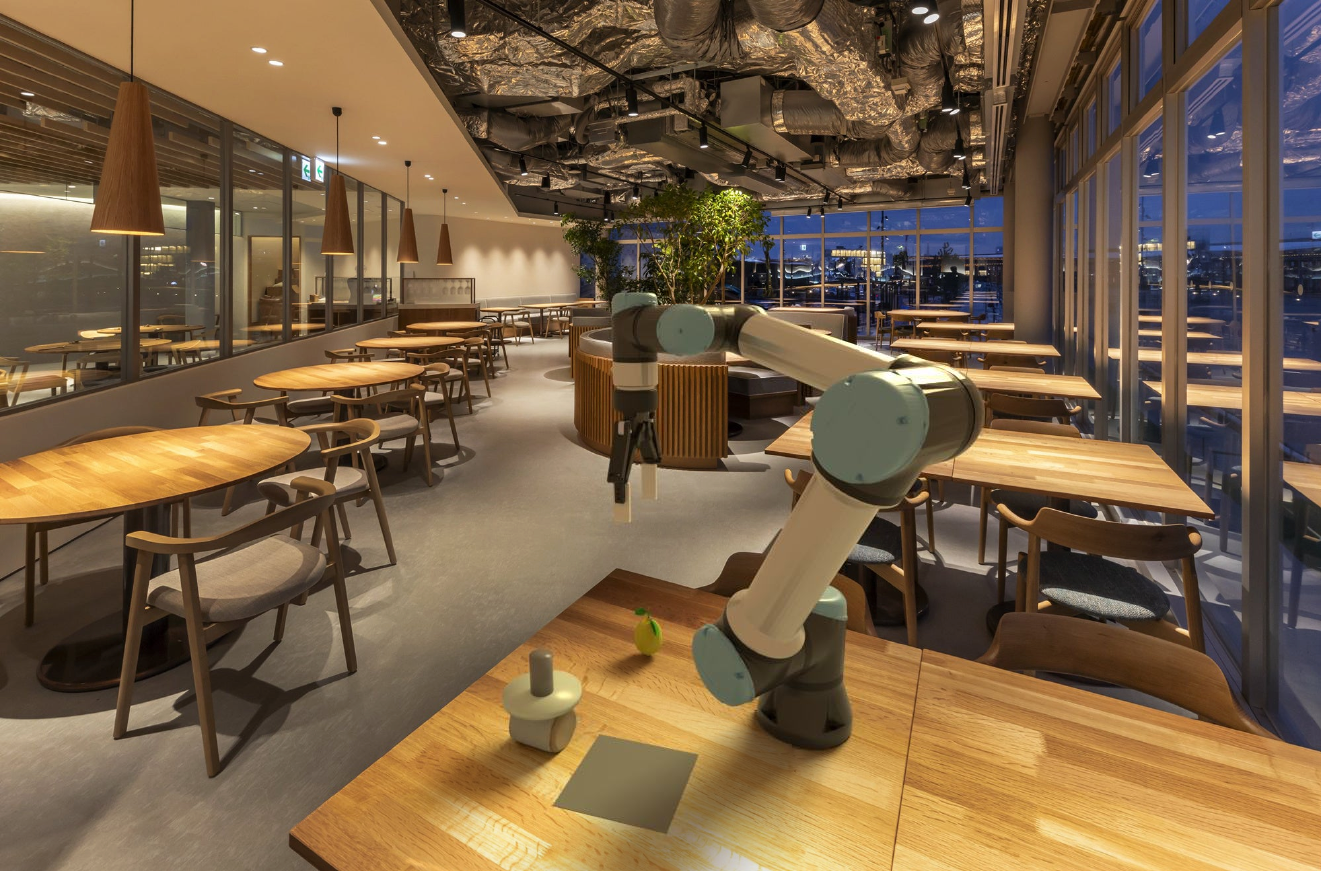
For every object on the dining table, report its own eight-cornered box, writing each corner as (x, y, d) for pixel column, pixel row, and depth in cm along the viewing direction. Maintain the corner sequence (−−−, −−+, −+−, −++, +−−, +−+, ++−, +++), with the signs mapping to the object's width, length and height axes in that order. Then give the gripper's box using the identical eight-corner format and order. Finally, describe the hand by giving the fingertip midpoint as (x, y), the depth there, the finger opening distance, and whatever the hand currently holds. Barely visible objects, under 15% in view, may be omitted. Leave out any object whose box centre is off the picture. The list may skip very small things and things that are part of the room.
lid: (593, 682, 106) (592, 641, 105) (561, 726, 95) (559, 681, 94) (526, 670, 110) (524, 631, 108) (486, 712, 98) (484, 668, 97)
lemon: (634, 646, 133) (634, 598, 131) (664, 647, 132) (664, 600, 130) (630, 663, 126) (629, 614, 124) (661, 665, 126) (660, 615, 124)
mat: (698, 757, 100) (698, 754, 100) (666, 836, 85) (666, 833, 85) (599, 737, 105) (599, 734, 104) (552, 808, 90) (552, 805, 90)
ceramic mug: (553, 765, 98) (552, 717, 97) (508, 750, 101) (506, 704, 100) (590, 726, 108) (589, 682, 106) (547, 713, 111) (546, 671, 110)
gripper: (639, 378, 124) (640, 489, 128) (583, 395, 101) (587, 529, 105) (678, 380, 122) (677, 492, 126) (630, 397, 99) (631, 534, 103)
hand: (636, 509), depth 115 cm, fingers open, 13 cm apart
